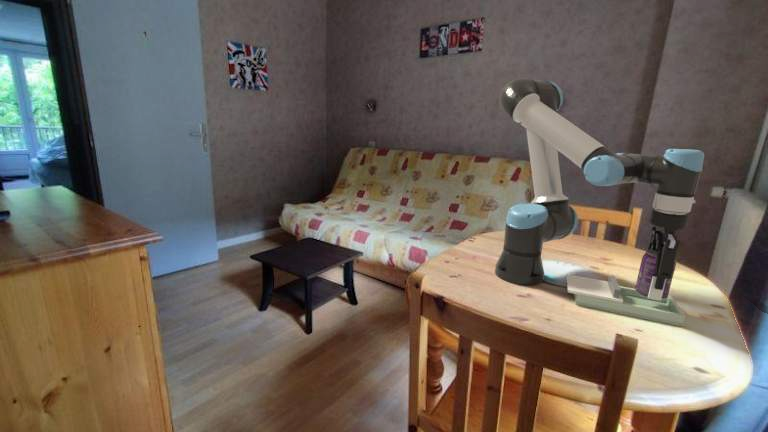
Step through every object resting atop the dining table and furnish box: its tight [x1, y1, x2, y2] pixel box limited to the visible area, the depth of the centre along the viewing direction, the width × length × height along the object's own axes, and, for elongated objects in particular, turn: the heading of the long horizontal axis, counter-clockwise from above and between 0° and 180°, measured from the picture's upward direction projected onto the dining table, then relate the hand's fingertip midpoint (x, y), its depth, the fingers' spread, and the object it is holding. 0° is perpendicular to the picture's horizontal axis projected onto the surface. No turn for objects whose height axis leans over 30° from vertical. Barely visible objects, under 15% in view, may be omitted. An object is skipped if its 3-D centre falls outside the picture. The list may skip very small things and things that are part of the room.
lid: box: [565, 273, 623, 303], centre depth 99 cm, size 13×12×3 cm
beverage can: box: [634, 249, 677, 299], centre depth 91 cm, size 7×7×12 cm
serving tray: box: [573, 285, 686, 328], centre depth 96 cm, size 24×12×3 cm, turn 65°
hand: (650, 292), depth 93 cm, fingers closed on beverage can, 7 cm apart
